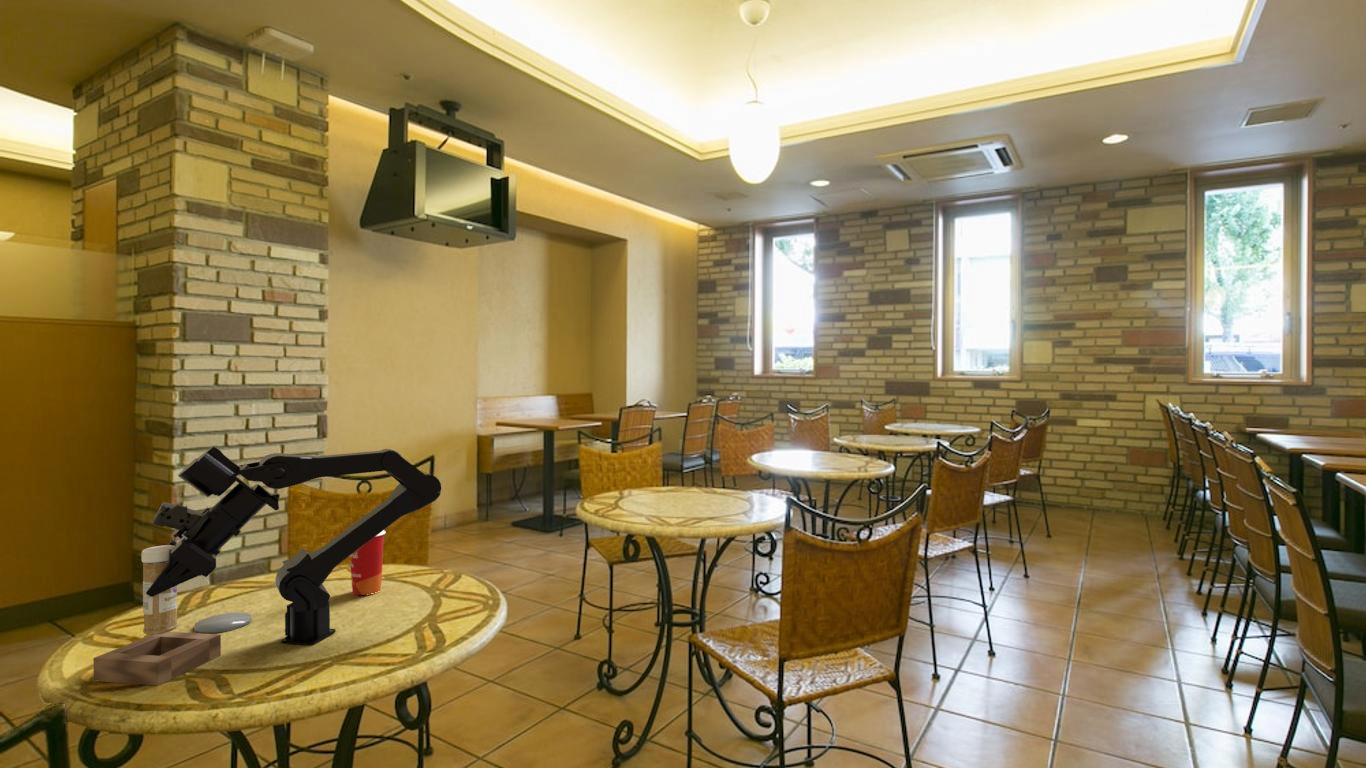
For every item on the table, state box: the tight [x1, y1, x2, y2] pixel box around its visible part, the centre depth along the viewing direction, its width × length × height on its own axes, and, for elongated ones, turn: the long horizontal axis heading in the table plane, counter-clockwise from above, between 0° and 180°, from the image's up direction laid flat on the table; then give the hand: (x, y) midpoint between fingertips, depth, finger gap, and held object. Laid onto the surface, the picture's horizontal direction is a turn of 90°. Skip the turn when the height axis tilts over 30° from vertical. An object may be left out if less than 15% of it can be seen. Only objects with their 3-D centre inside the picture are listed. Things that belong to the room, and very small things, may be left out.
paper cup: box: [349, 529, 387, 596], centre depth 149 cm, size 8×8×14 cm
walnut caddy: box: [92, 631, 222, 687], centre depth 110 cm, size 12×12×4 cm
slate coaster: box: [193, 611, 252, 634], centre depth 129 cm, size 9×9×1 cm
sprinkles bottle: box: [141, 544, 179, 636], centre depth 110 cm, size 5×5×14 cm
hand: (149, 591), depth 109 cm, fingers closed on sprinkles bottle, 4 cm apart
